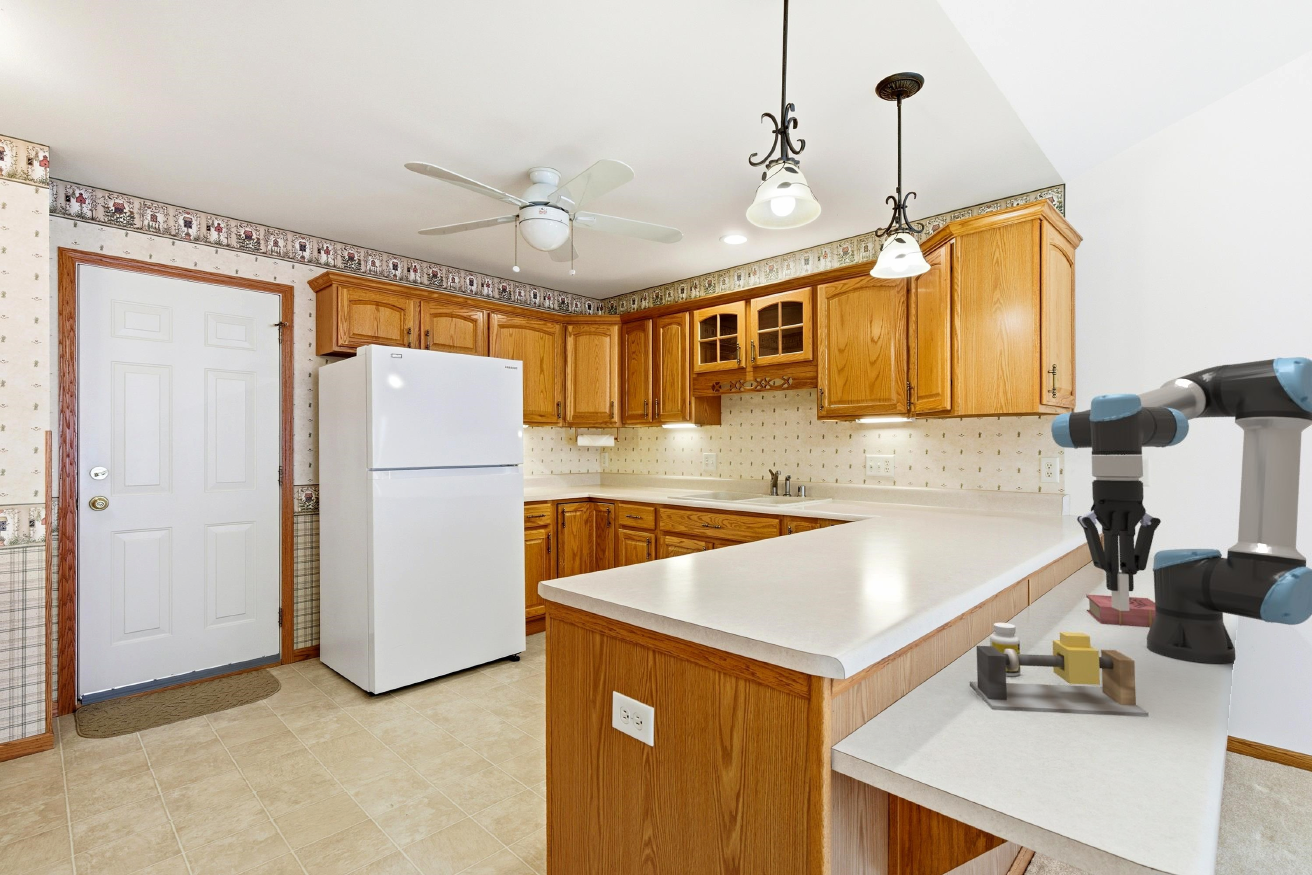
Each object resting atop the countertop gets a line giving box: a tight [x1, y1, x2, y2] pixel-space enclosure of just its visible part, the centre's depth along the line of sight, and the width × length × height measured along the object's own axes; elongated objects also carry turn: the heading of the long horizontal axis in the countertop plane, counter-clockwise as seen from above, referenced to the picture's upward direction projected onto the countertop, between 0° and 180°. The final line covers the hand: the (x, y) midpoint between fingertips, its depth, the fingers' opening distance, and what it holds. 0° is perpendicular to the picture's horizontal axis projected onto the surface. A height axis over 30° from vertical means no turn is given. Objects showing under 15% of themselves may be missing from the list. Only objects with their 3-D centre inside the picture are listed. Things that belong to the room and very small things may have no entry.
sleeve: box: [1052, 631, 1101, 686], centre depth 115 cm, size 5×6×8 cm
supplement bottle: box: [989, 622, 1021, 677], centre depth 130 cm, size 5×5×10 cm
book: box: [1085, 594, 1155, 629], centre depth 169 cm, size 14×15×5 cm
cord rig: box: [969, 645, 1150, 717], centre depth 115 cm, size 25×12×9 cm, turn 81°
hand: (1120, 608), depth 114 cm, fingers closed
